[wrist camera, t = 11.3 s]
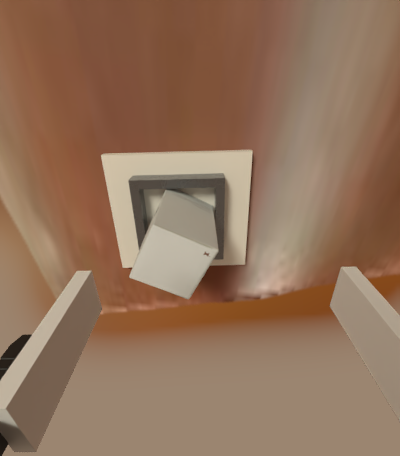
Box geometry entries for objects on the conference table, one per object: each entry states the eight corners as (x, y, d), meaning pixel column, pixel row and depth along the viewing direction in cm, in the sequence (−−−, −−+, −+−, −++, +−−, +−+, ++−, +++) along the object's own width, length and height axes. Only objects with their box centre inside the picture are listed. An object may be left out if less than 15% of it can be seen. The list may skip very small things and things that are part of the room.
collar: (132, 175, 35) (128, 180, 32) (223, 173, 35) (225, 178, 32) (143, 252, 40) (140, 261, 38) (222, 250, 40) (223, 259, 38)
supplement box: (167, 182, 35) (153, 221, 24) (214, 205, 37) (221, 251, 25) (147, 225, 38) (126, 278, 27) (192, 244, 40) (189, 302, 28)
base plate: (104, 153, 34) (100, 155, 33) (250, 149, 34) (252, 151, 33) (124, 263, 42) (122, 267, 41) (243, 260, 42) (244, 264, 41)
